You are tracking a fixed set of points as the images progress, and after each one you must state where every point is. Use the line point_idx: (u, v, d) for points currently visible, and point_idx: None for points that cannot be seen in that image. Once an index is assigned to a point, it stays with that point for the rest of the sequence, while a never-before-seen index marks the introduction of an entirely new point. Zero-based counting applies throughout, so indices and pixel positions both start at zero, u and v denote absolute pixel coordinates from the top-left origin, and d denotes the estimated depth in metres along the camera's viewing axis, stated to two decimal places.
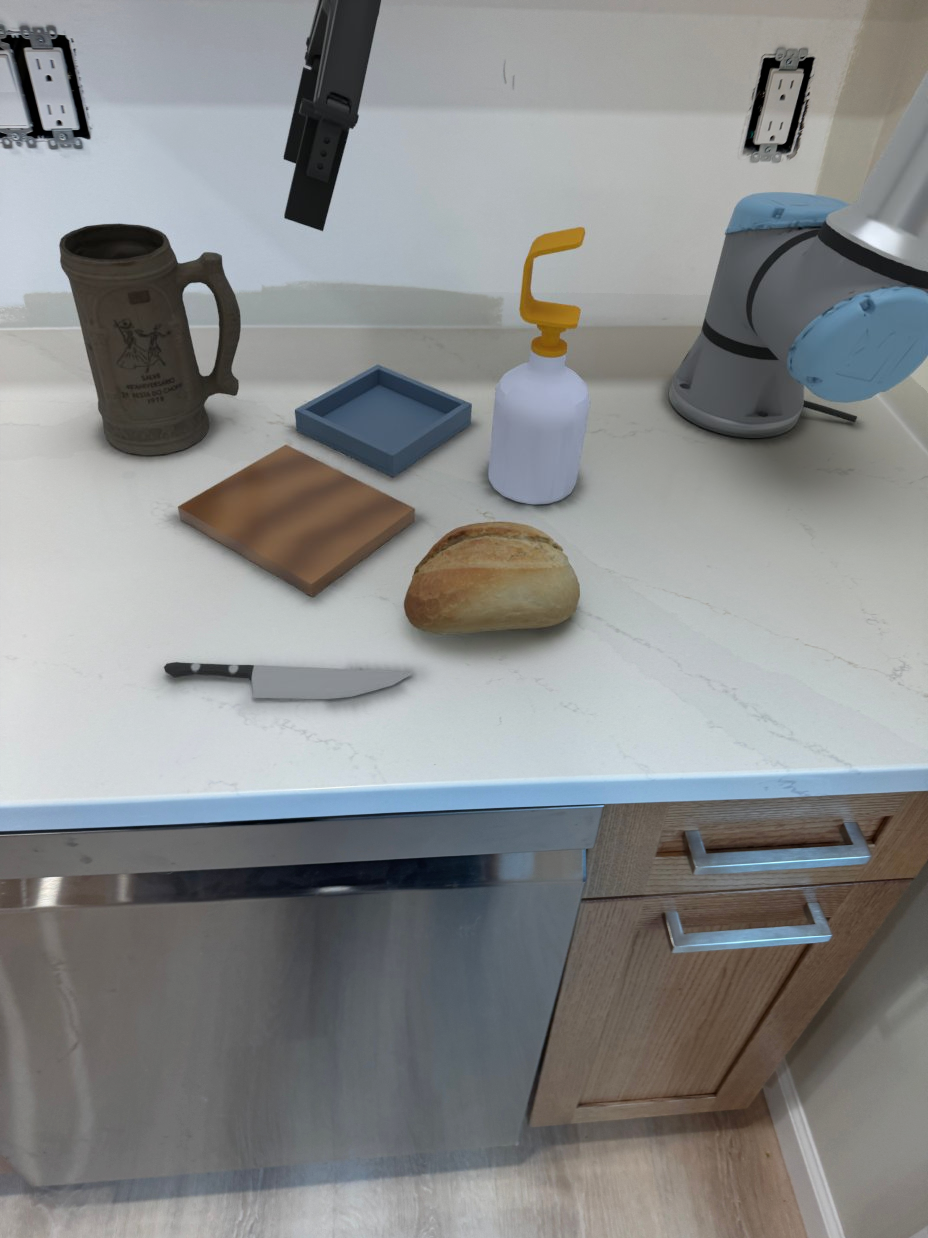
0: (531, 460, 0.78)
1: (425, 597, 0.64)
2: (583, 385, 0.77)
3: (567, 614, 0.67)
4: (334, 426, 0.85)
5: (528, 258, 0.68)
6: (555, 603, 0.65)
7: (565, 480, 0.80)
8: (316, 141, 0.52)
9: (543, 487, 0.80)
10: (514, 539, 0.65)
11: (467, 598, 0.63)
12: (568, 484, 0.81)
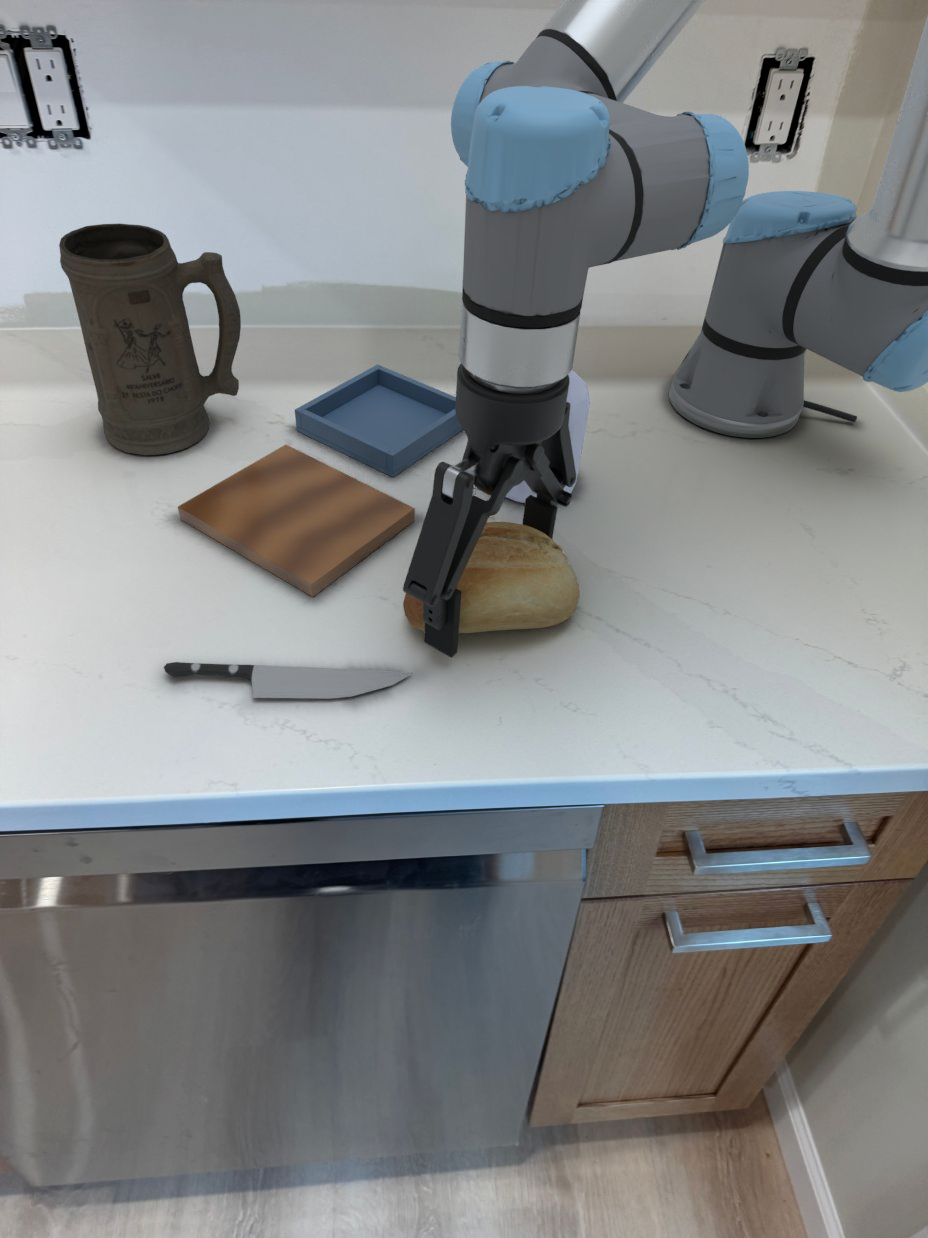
0: None
1: None
2: (583, 385, 0.77)
3: (566, 614, 0.67)
4: (334, 426, 0.85)
5: None
6: (554, 604, 0.65)
7: None
8: (424, 603, 0.60)
9: None
10: (514, 539, 0.65)
11: (466, 598, 0.63)
12: None
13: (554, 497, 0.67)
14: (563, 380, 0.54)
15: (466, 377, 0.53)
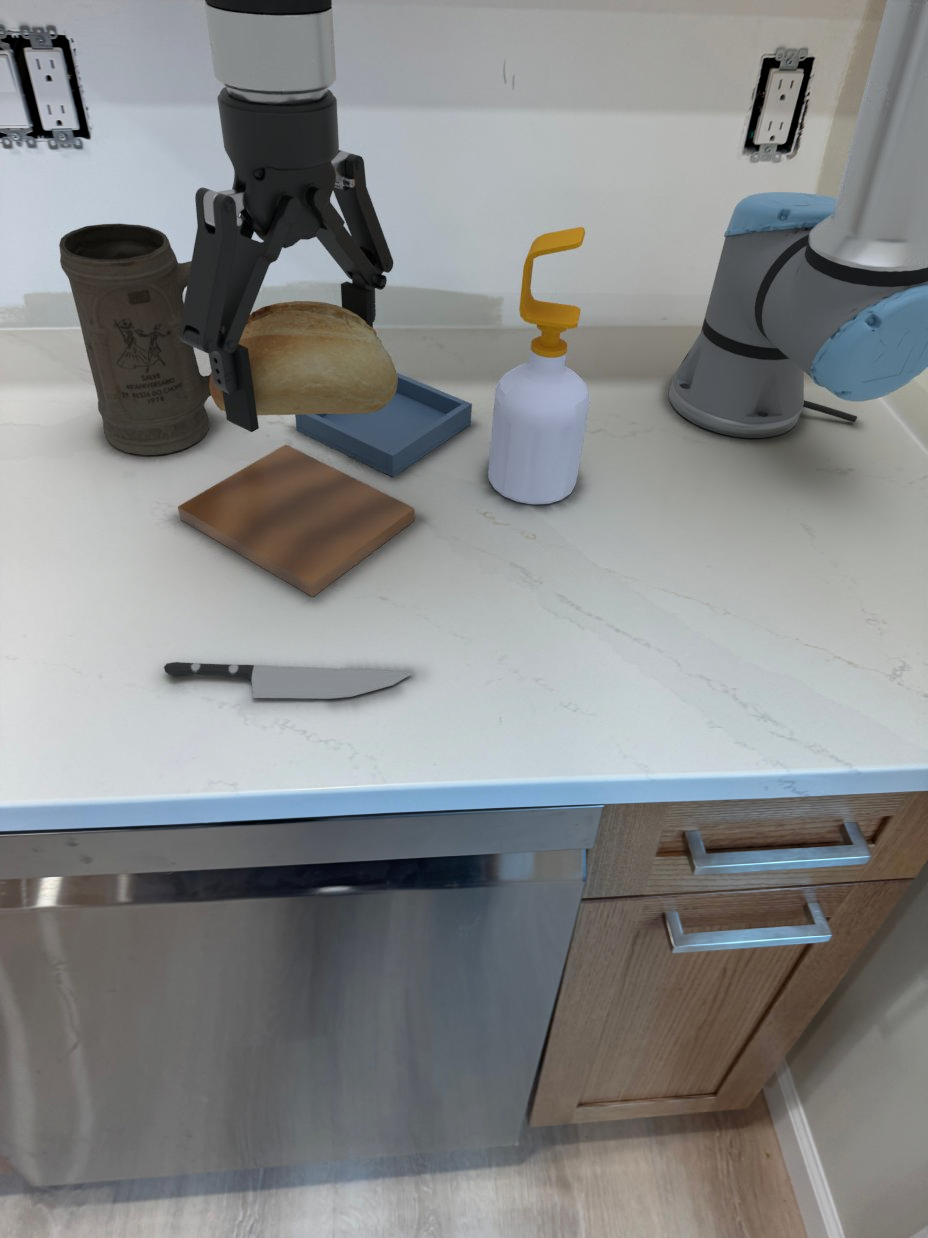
0: (531, 460, 0.78)
1: None
2: (583, 385, 0.77)
3: (377, 395, 0.65)
4: (334, 426, 0.85)
5: (528, 258, 0.68)
6: (359, 378, 0.63)
7: (565, 480, 0.80)
8: (210, 361, 0.58)
9: (543, 487, 0.80)
10: (318, 313, 0.63)
11: (262, 366, 0.61)
12: (568, 484, 0.81)
13: (365, 276, 0.65)
14: (325, 99, 0.52)
15: (223, 94, 0.51)
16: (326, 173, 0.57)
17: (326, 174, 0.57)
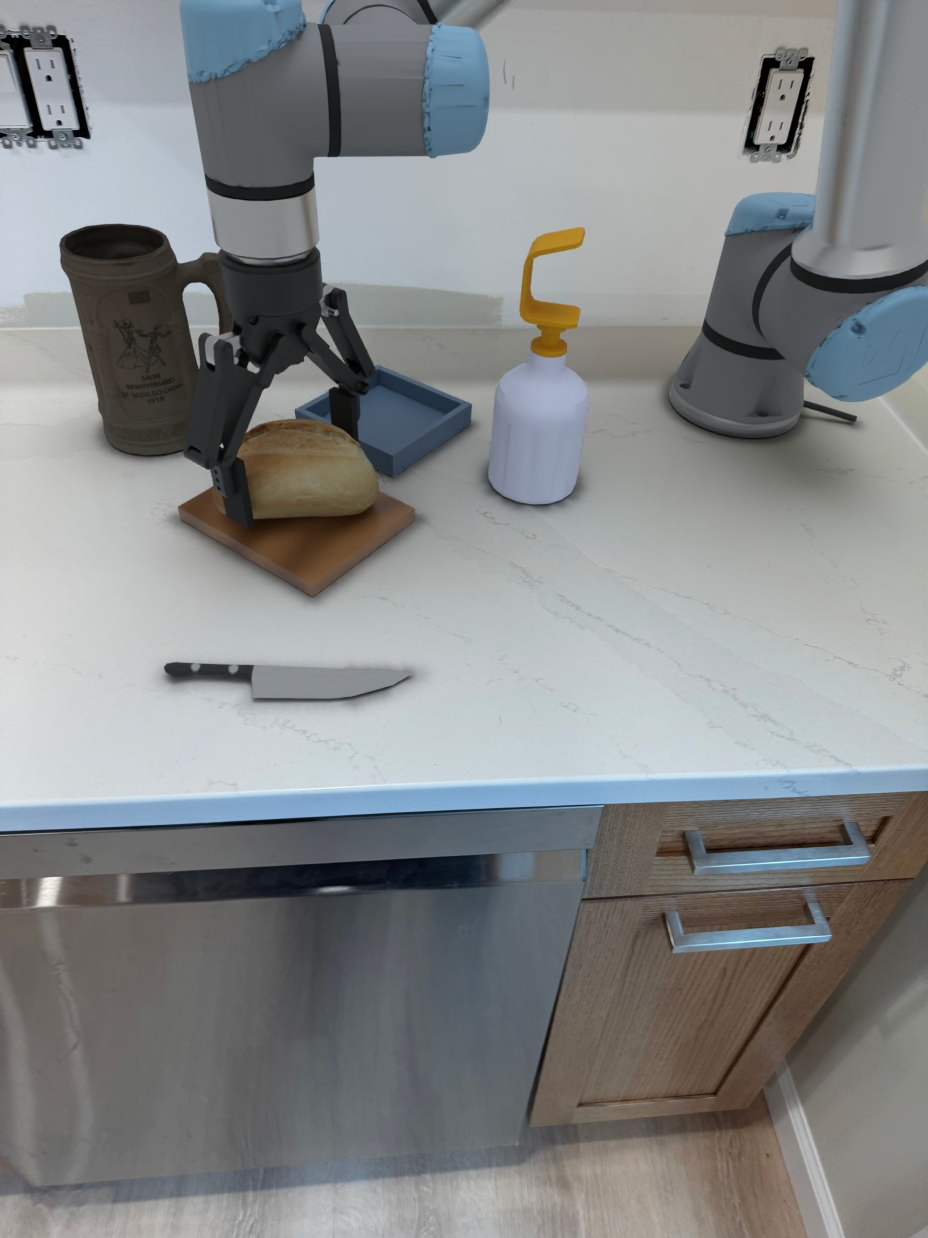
0: (531, 460, 0.78)
1: None
2: (583, 385, 0.77)
3: (360, 502, 0.74)
4: None
5: (528, 258, 0.68)
6: (344, 489, 0.72)
7: (565, 480, 0.80)
8: (211, 472, 0.67)
9: (543, 487, 0.80)
10: (308, 432, 0.72)
11: (259, 481, 0.70)
12: (568, 484, 0.81)
13: (350, 385, 0.73)
14: (310, 257, 0.60)
15: (222, 254, 0.60)
16: (312, 309, 0.65)
17: (312, 310, 0.65)
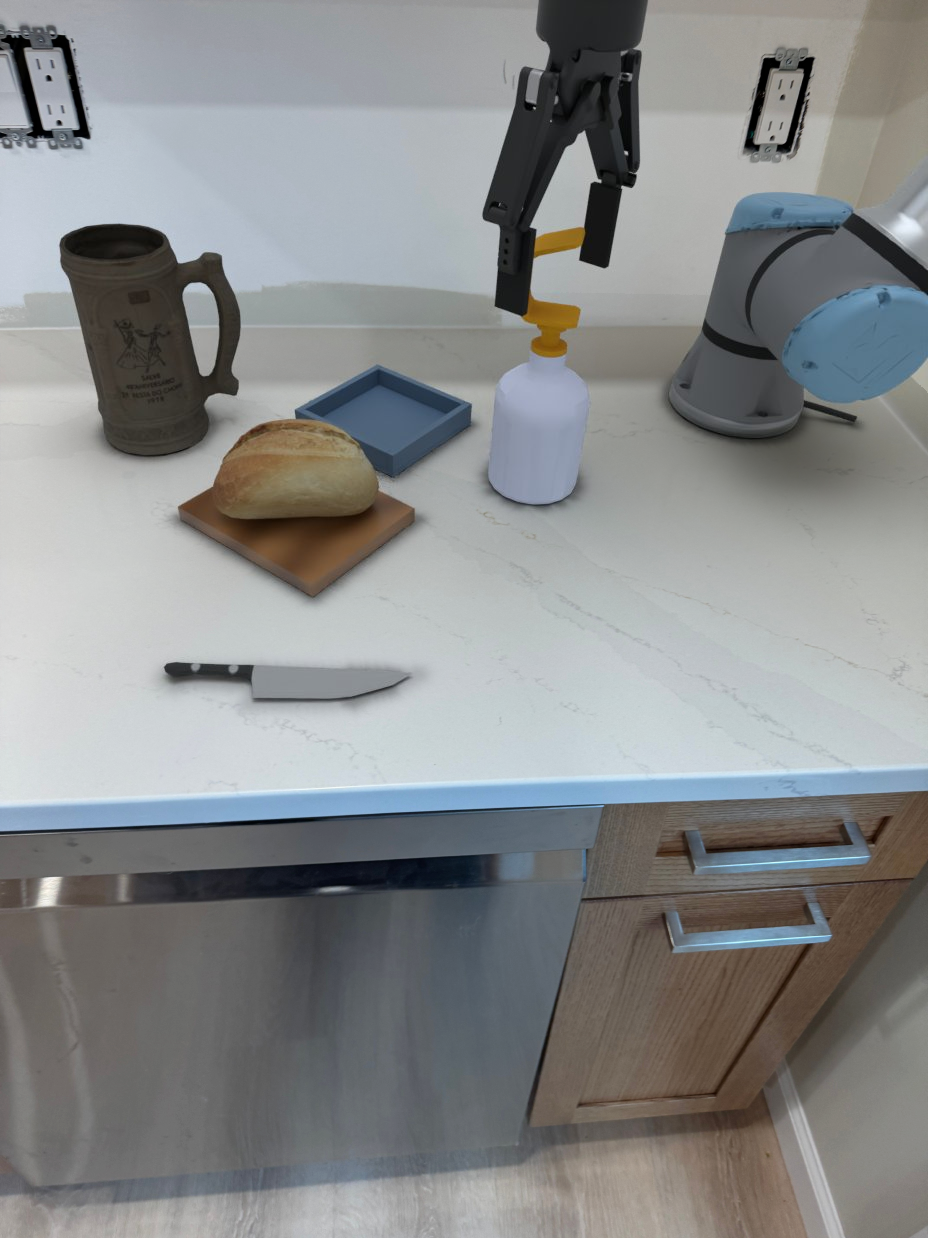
0: (531, 460, 0.78)
1: (224, 481, 0.71)
2: (583, 385, 0.77)
3: (360, 502, 0.74)
4: None
5: None
6: (343, 490, 0.72)
7: (565, 480, 0.80)
8: (500, 242, 0.62)
9: (543, 487, 0.80)
10: (308, 432, 0.72)
11: (258, 481, 0.70)
12: (568, 484, 0.81)
13: (620, 174, 0.69)
14: None
15: None
16: (616, 64, 0.61)
17: (616, 65, 0.61)
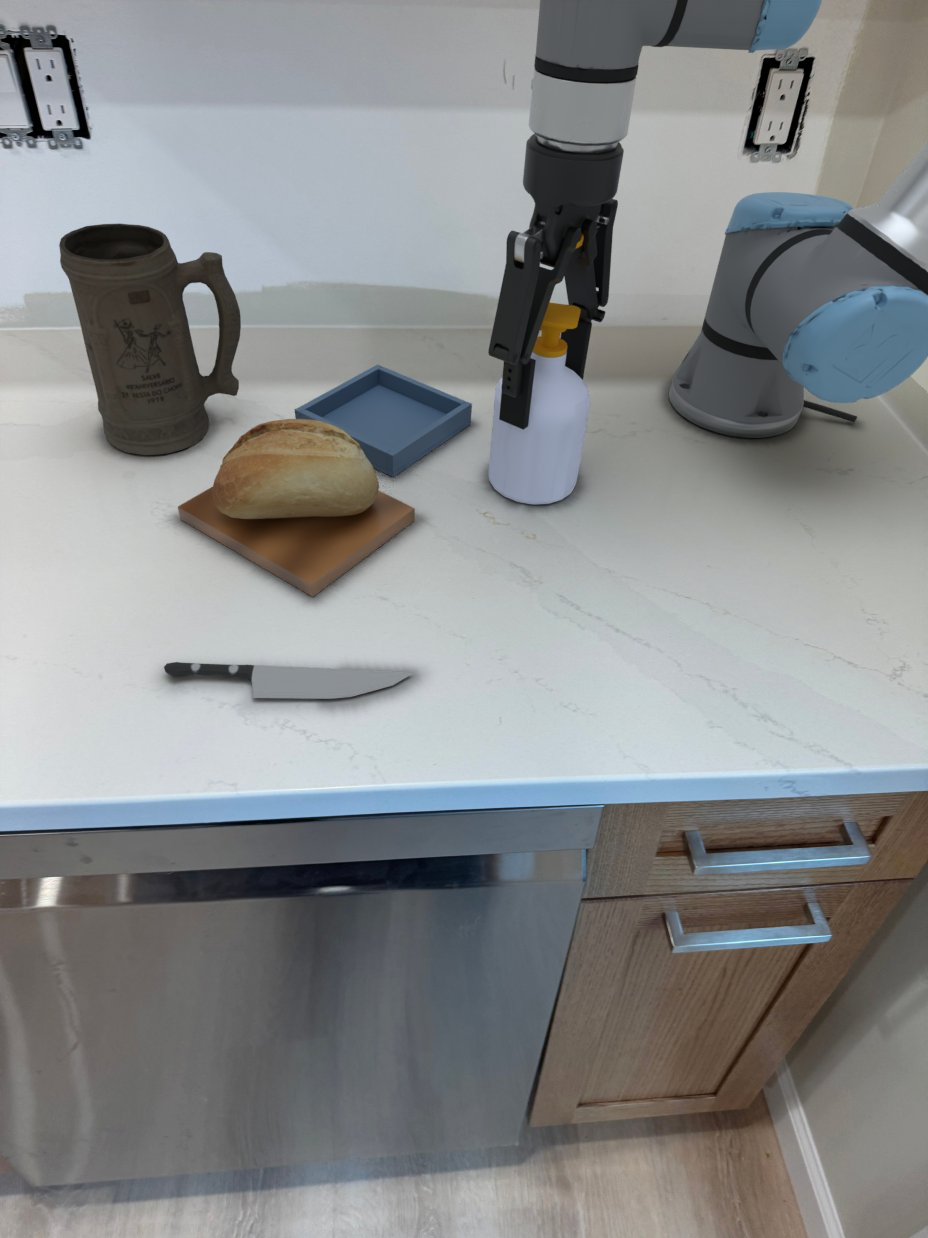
0: (531, 460, 0.78)
1: (224, 481, 0.71)
2: (583, 385, 0.77)
3: (360, 502, 0.74)
4: None
5: None
6: (343, 490, 0.72)
7: (565, 480, 0.80)
8: (503, 371, 0.71)
9: (543, 487, 0.80)
10: (308, 432, 0.72)
11: (258, 481, 0.70)
12: (568, 484, 0.81)
13: (591, 308, 0.75)
14: (618, 147, 0.62)
15: (535, 144, 0.62)
16: (596, 206, 0.68)
17: (596, 206, 0.68)
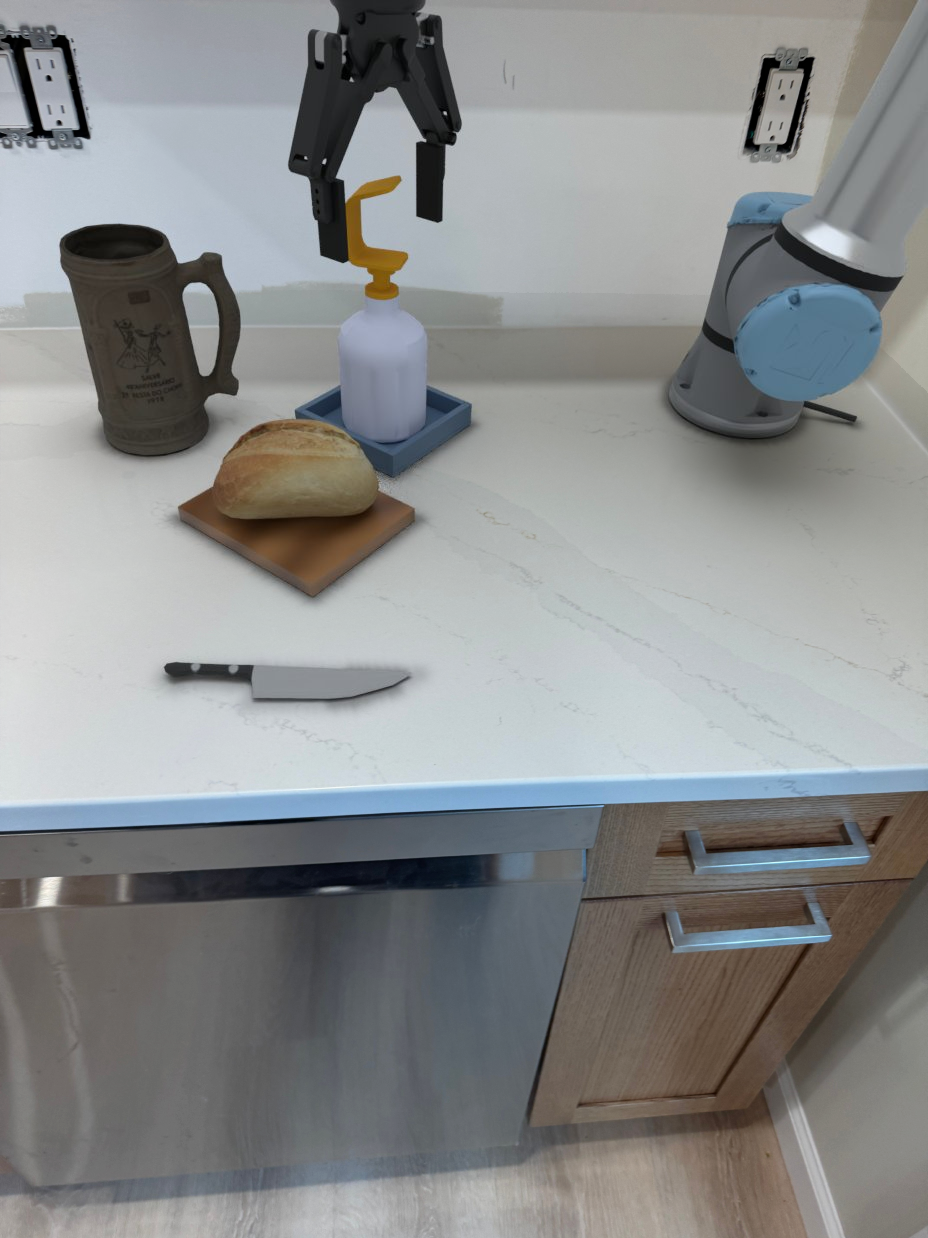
0: (372, 398, 0.83)
1: (224, 481, 0.71)
2: (418, 328, 0.82)
3: (360, 502, 0.74)
4: None
5: (346, 203, 0.73)
6: (343, 490, 0.72)
7: (409, 419, 0.86)
8: (311, 193, 0.68)
9: (387, 425, 0.85)
10: (308, 432, 0.72)
11: (258, 481, 0.70)
12: (413, 423, 0.87)
13: (439, 132, 0.74)
14: None
15: None
16: (412, 27, 0.67)
17: (412, 28, 0.67)
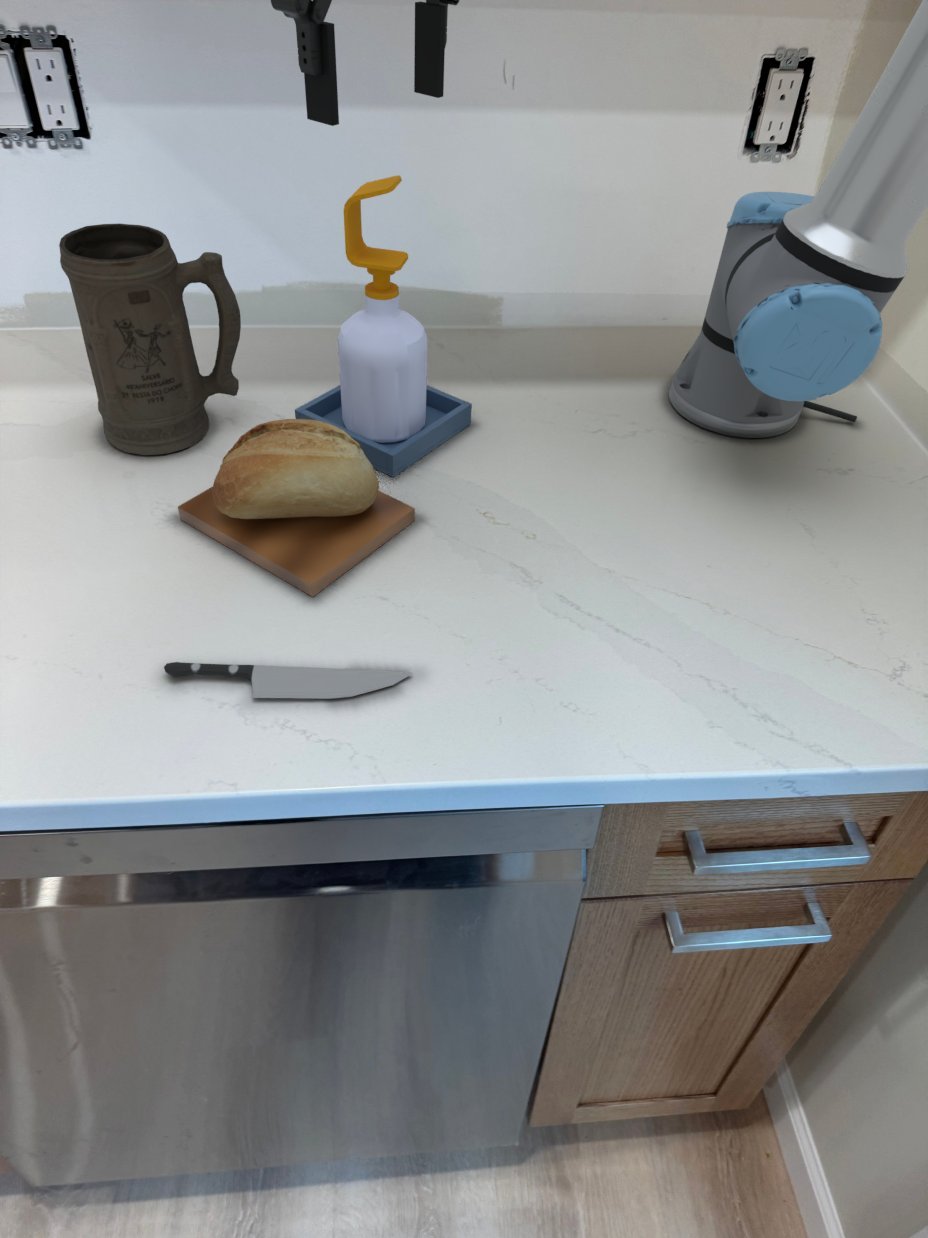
0: (372, 398, 0.83)
1: (224, 481, 0.71)
2: (418, 328, 0.82)
3: (360, 502, 0.74)
4: None
5: (346, 203, 0.73)
6: (343, 490, 0.72)
7: (409, 419, 0.86)
8: (297, 38, 0.60)
9: (387, 425, 0.85)
10: (308, 432, 0.72)
11: (258, 481, 0.70)
12: (413, 423, 0.87)
13: None
14: None
15: None
16: None
17: None
